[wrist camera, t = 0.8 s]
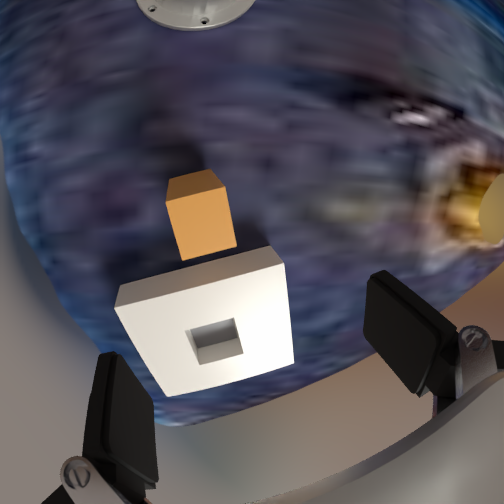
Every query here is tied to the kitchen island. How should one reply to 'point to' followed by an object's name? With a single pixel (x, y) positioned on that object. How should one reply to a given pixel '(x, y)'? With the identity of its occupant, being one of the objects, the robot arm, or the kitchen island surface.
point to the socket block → (210, 321)
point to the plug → (200, 214)
